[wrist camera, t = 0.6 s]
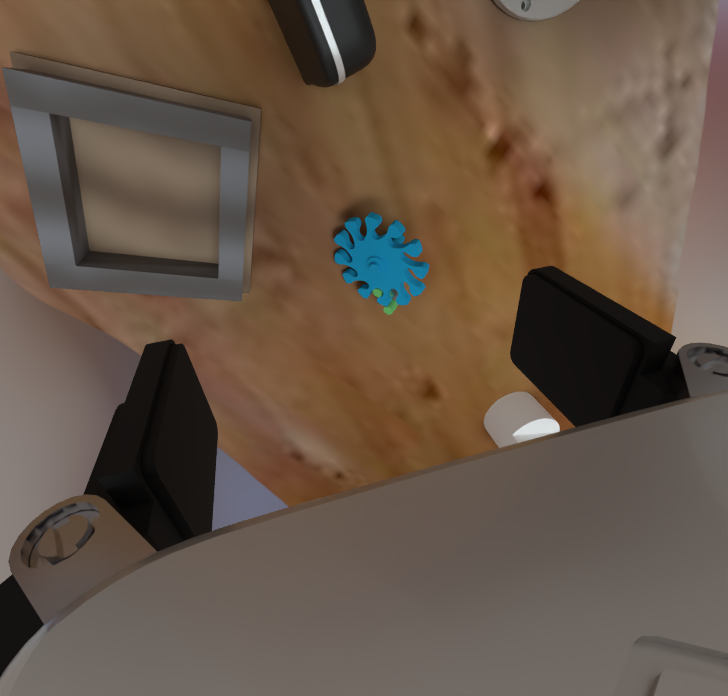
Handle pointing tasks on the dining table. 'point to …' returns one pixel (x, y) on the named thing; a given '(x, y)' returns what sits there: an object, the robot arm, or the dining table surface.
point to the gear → (381, 261)
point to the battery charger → (326, 37)
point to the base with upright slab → (518, 419)
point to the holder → (136, 181)
